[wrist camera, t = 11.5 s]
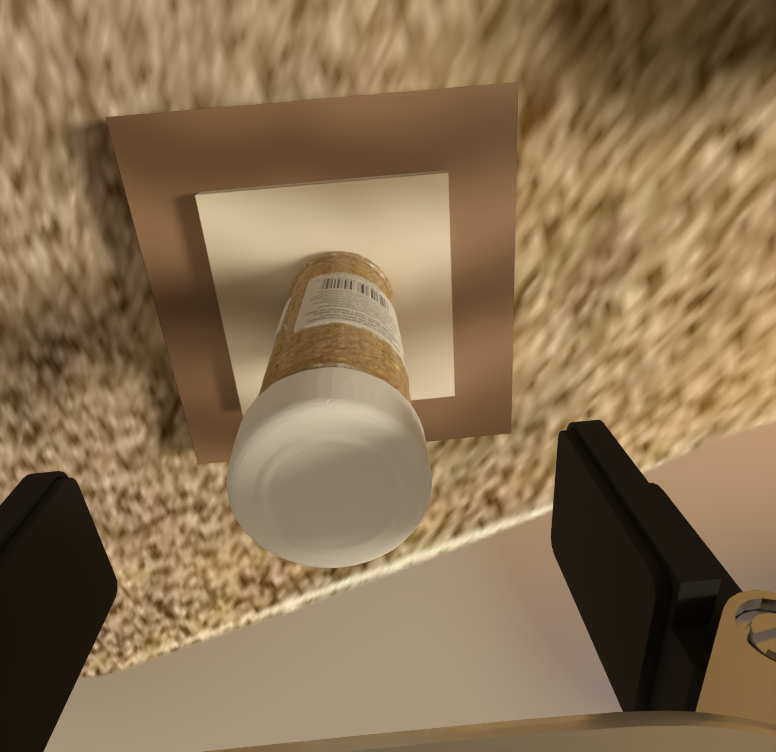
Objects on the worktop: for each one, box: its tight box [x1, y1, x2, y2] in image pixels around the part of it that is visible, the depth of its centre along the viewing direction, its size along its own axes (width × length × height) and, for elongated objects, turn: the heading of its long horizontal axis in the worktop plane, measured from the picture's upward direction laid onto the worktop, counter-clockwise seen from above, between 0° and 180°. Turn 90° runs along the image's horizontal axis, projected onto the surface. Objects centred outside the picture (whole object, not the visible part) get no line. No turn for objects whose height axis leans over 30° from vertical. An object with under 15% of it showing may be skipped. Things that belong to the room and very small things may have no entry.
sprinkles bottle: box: [226, 251, 432, 568], centre depth 18 cm, size 5×5×13 cm
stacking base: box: [105, 82, 518, 464], centre depth 26 cm, size 16×16×3 cm
